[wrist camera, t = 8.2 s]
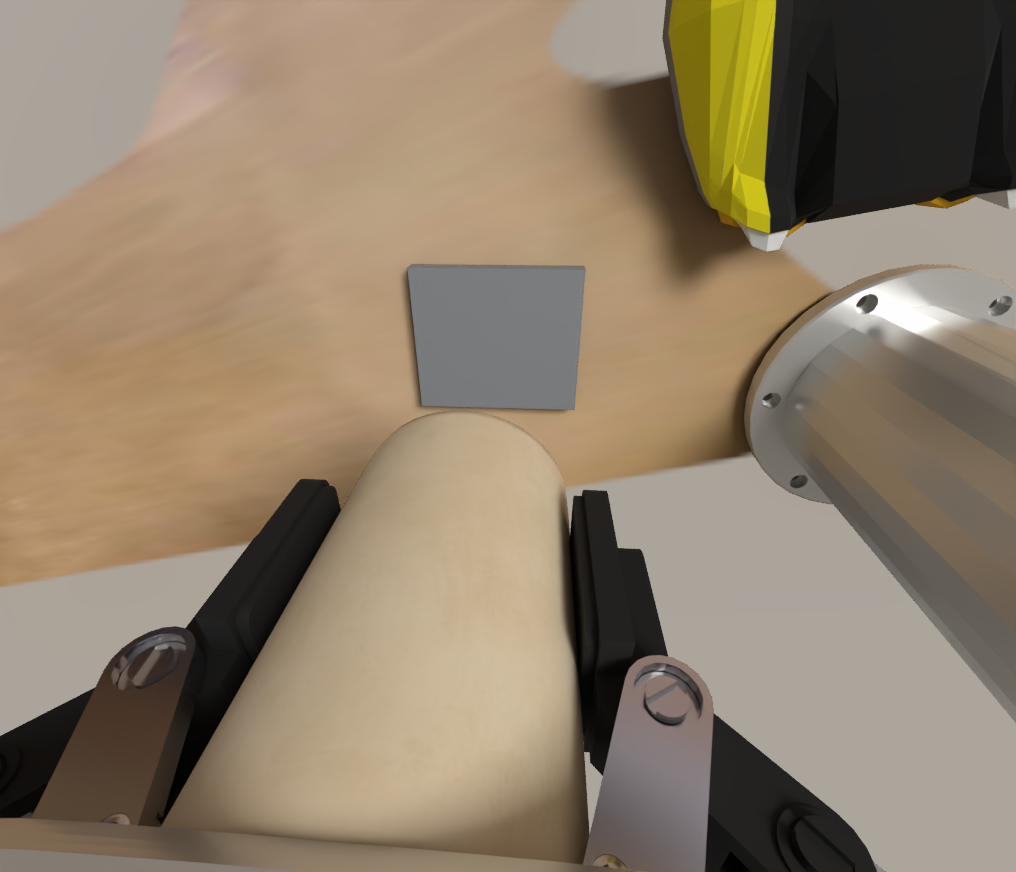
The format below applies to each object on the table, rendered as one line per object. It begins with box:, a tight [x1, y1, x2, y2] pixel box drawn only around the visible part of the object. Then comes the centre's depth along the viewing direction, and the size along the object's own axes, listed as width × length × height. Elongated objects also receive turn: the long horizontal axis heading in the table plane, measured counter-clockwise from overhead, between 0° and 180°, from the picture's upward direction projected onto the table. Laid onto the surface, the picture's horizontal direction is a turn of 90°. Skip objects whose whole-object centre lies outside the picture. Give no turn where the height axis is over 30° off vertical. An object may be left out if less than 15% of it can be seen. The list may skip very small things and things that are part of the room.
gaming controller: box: [663, 0, 1016, 252], centre depth 15 cm, size 15×6×10 cm
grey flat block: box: [407, 264, 585, 410], centre depth 23 cm, size 8×7×1 cm
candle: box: [161, 411, 589, 865], centre depth 9 cm, size 6×6×10 cm
